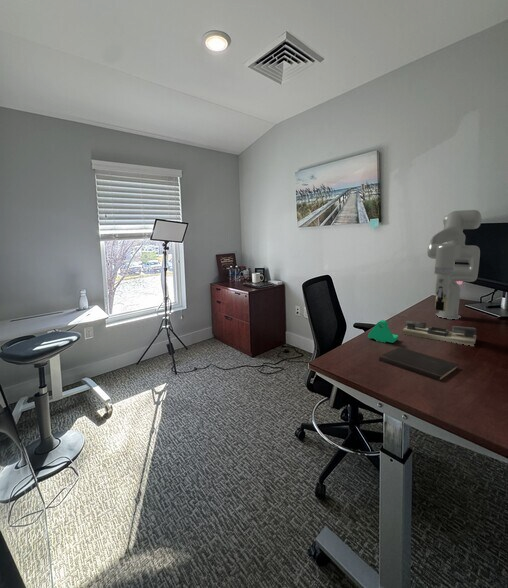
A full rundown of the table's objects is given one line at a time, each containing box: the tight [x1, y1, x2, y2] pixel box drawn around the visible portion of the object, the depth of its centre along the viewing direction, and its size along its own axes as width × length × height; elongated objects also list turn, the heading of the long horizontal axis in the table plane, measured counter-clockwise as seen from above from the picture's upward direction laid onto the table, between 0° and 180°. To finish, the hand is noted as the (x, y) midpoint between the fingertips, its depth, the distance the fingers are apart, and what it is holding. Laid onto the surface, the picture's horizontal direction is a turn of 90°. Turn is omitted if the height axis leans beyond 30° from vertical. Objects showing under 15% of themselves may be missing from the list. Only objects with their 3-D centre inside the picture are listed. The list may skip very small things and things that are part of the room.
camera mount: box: [367, 319, 399, 344], centre depth 145 cm, size 12×8×10 cm, turn 48°
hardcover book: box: [378, 346, 459, 382], centre depth 119 cm, size 16×23×2 cm
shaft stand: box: [401, 319, 477, 347], centre depth 148 cm, size 11×30×6 cm, turn 50°
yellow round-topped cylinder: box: [434, 294, 447, 312], centre depth 145 cm, size 5×4×7 cm
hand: (440, 308), depth 145 cm, fingers closed on yellow round-topped cylinder, 4 cm apart
